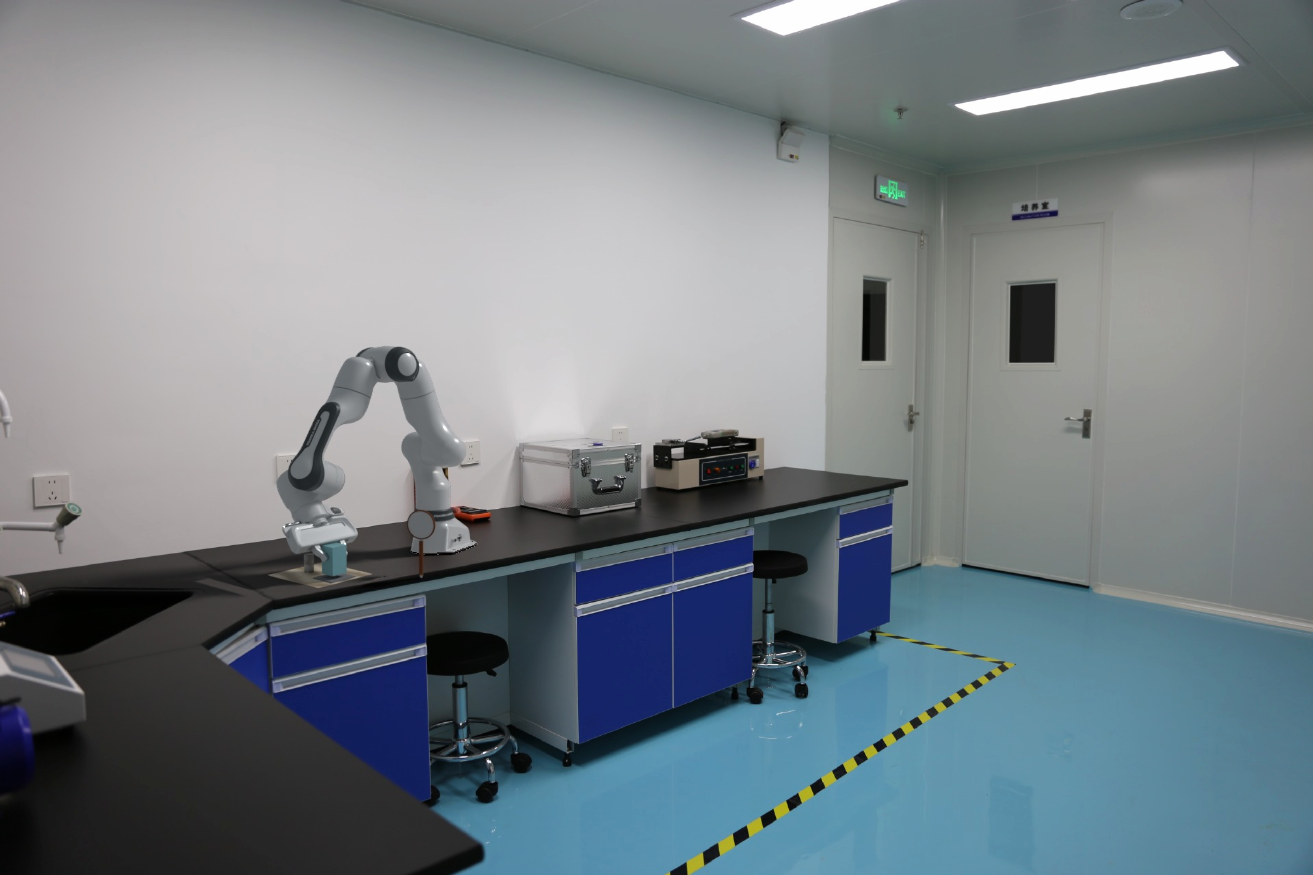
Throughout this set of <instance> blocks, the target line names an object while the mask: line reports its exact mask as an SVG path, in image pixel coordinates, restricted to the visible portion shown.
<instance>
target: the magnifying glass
mask: <svg viewBox="0 0 1313 875" xmlns="http://www.w3.org/2000/svg"><path fill="white" fill-rule="evenodd" d="M406 529H407V530H408V532H409V534H410V536H412V537H415V538H417V539H420V541H419V554H418V575H419V578H420V579H422V578H423V576H424V554H423V541H422V539H427V538H429V537H430V536H431V535H432V534H433V533H434V531H435V520H434V518H433V516H432V515H431V514H430V513H429V512H427V511H425V510H416V511H414V510H413V512H411V513H410V514H409V516H407V520H406Z"/></svg>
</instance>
